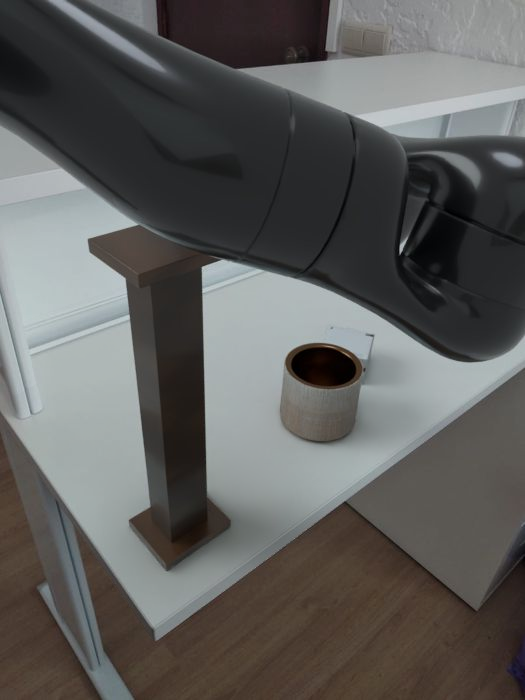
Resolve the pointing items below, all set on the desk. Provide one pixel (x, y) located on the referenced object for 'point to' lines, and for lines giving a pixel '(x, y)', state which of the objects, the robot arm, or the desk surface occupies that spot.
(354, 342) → the small box
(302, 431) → the planter
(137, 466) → the desk surface
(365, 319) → the desk surface
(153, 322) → the wooden display pedestal
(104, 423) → the desk surface
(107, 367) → the desk surface
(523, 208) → the robot arm
